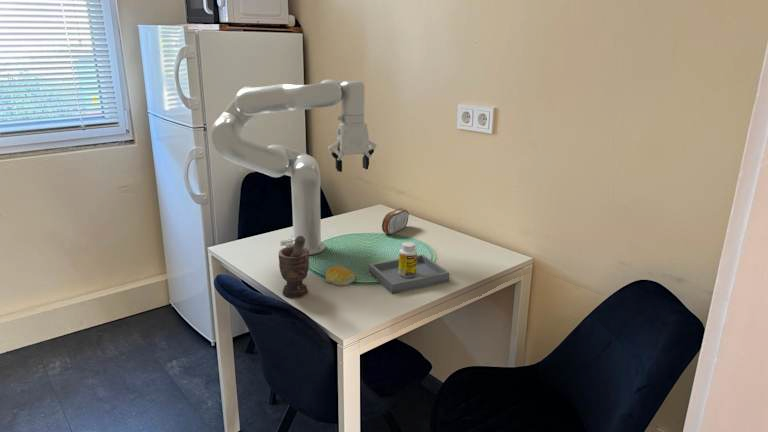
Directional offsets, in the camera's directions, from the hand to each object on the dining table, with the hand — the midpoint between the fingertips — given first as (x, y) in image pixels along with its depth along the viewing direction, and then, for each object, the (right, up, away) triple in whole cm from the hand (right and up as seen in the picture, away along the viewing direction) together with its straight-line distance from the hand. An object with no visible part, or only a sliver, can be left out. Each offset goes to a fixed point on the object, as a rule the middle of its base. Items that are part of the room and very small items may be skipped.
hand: (352, 169), depth 180 cm
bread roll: (-3, -36, -16) cm, 39 cm away
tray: (+18, -35, -13) cm, 42 cm away
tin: (+15, -22, +26) cm, 37 cm away
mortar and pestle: (-14, -39, -26) cm, 49 cm away
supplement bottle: (+18, -34, -14) cm, 41 cm away
